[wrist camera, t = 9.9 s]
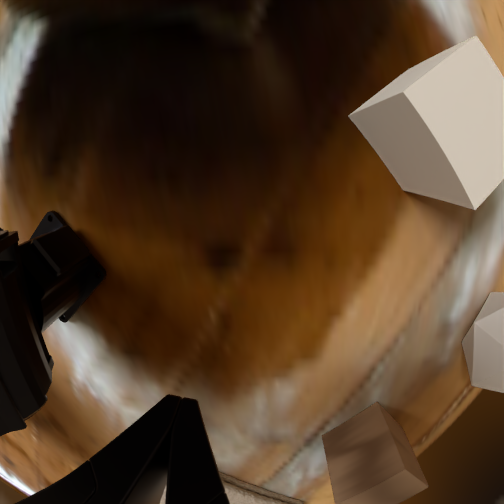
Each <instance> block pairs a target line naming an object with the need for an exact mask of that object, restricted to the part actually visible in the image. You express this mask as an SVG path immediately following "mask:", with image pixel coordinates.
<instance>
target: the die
mask: <svg viewBox="0 0 504 504" xmlns="http://www.w3.org/2000/svg"><path fill="white" fill-rule="evenodd" d="M462 346H463V350H464V354H465V358H466V363H467V367H468V372H469V376H470V381H471V386H474V387H479V388H483V389H488V390H493V391H497V392H502V393H504V292H490V294H489V296H488V298H487V300H486V302H485V304H484V305H483V307H482V309H481V311H480V312H479V314H478V316H477V318H476V319H475V321H474V323H473V324H472V326H471V328H470V329H469V331H468V332H467V334H466V336H465V337H464V339H463V340H462Z"/></svg>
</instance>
